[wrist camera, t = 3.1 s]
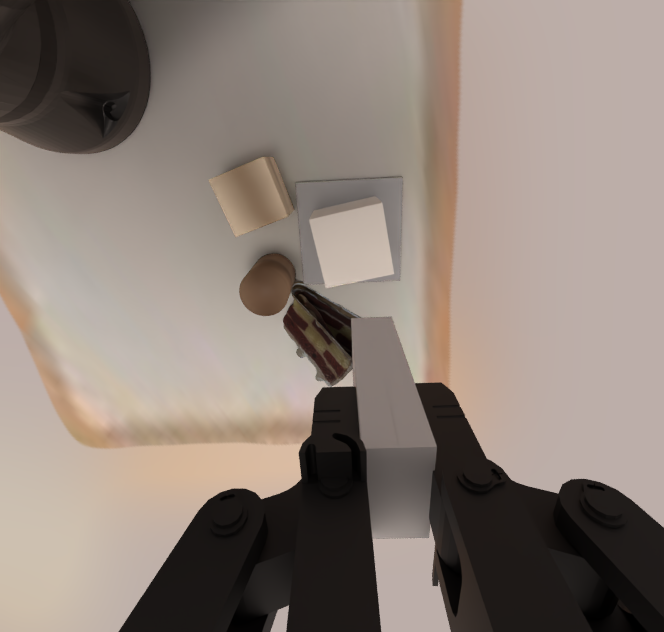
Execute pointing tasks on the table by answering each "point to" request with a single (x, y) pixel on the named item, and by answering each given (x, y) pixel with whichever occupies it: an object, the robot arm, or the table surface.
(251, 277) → the walnut cylinder
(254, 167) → the beech cube
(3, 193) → the table surface
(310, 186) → the mat
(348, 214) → the plain block
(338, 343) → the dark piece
